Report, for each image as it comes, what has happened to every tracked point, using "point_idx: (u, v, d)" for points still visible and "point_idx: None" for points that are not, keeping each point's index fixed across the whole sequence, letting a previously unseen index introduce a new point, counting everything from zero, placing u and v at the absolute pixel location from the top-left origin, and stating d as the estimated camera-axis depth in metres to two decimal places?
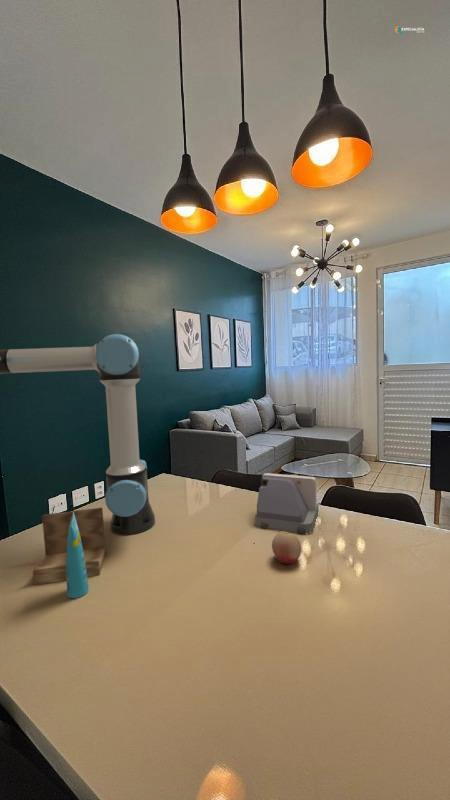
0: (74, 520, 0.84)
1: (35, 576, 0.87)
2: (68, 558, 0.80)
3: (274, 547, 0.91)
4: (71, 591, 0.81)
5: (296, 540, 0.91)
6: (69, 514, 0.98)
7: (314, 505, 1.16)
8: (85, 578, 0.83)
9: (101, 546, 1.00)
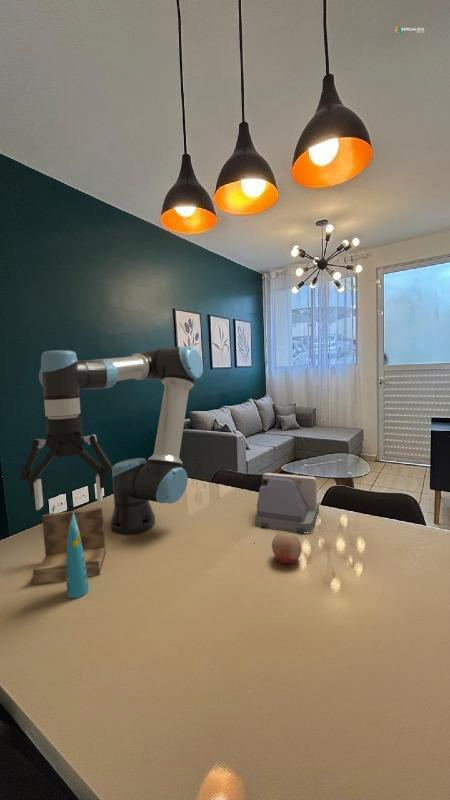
0: (74, 520, 0.84)
1: (35, 576, 0.87)
2: (68, 558, 0.80)
3: (274, 547, 0.91)
4: (71, 591, 0.81)
5: (296, 540, 0.91)
6: (69, 514, 0.98)
7: (314, 505, 1.17)
8: (85, 578, 0.83)
9: (101, 546, 1.00)
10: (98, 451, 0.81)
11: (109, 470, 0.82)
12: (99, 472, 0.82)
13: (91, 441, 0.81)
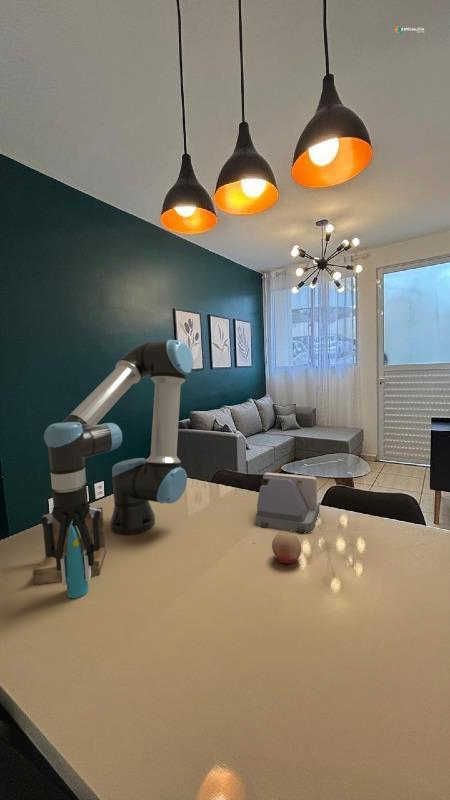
0: None
1: (35, 576, 0.87)
2: (68, 558, 0.80)
3: (274, 547, 0.91)
4: (71, 591, 0.81)
5: (296, 540, 0.91)
6: None
7: (315, 505, 1.17)
8: (85, 578, 0.83)
9: (101, 546, 1.00)
10: (96, 527, 0.82)
11: (97, 549, 0.83)
12: (88, 550, 0.82)
13: (95, 516, 0.82)
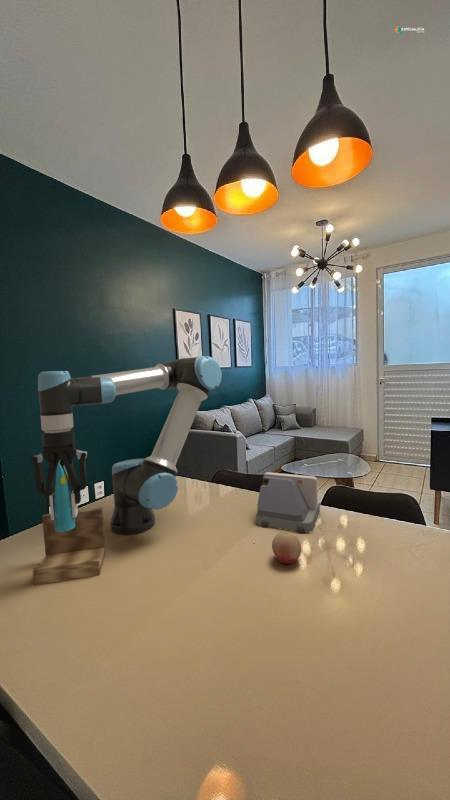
0: None
1: (35, 576, 0.87)
2: (56, 494, 0.88)
3: (274, 547, 0.91)
4: (58, 525, 0.88)
5: (296, 540, 0.91)
6: None
7: (315, 504, 1.17)
8: None
9: (101, 546, 1.00)
10: (82, 468, 0.90)
11: (83, 488, 0.90)
12: (74, 489, 0.90)
13: (81, 457, 0.90)
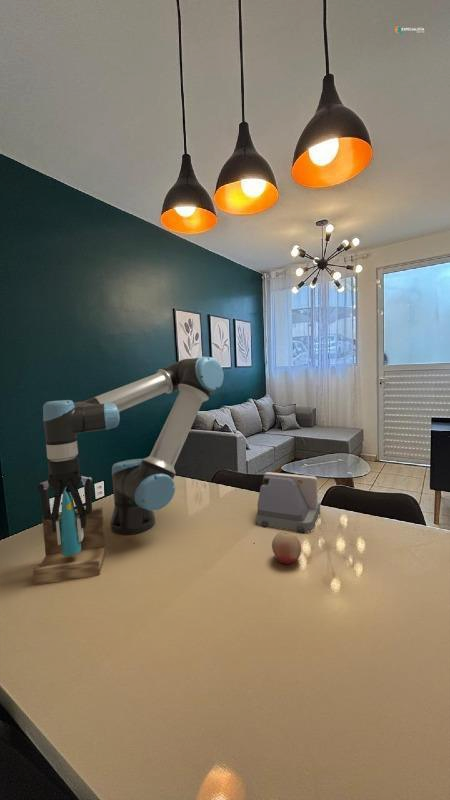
0: None
1: (35, 576, 0.87)
2: (62, 520, 0.91)
3: (274, 547, 0.91)
4: (65, 550, 0.91)
5: (296, 540, 0.91)
6: None
7: (315, 504, 1.17)
8: (78, 539, 0.93)
9: (101, 546, 1.00)
10: (87, 494, 0.93)
11: (88, 513, 0.93)
12: (80, 514, 0.93)
13: (86, 483, 0.92)
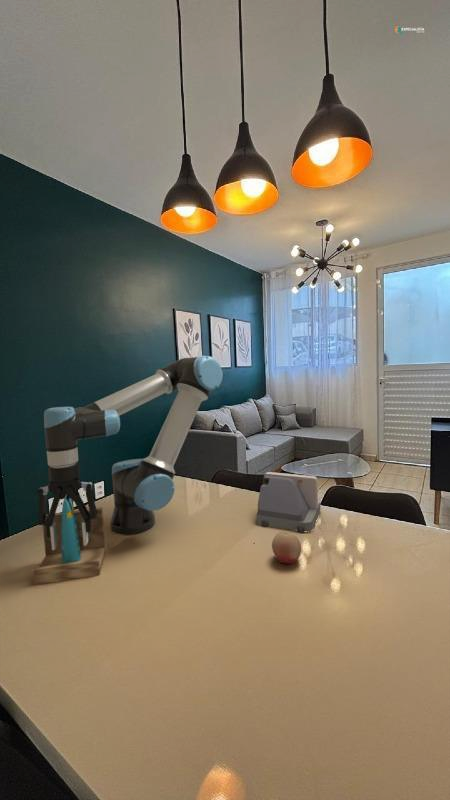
0: None
1: (35, 576, 0.87)
2: (63, 528, 0.91)
3: (274, 547, 0.91)
4: (65, 557, 0.92)
5: (296, 540, 0.91)
6: None
7: (315, 504, 1.17)
8: (78, 546, 0.94)
9: (101, 546, 1.00)
10: (90, 498, 0.93)
11: (93, 517, 0.93)
12: (85, 518, 0.93)
13: (87, 488, 0.93)
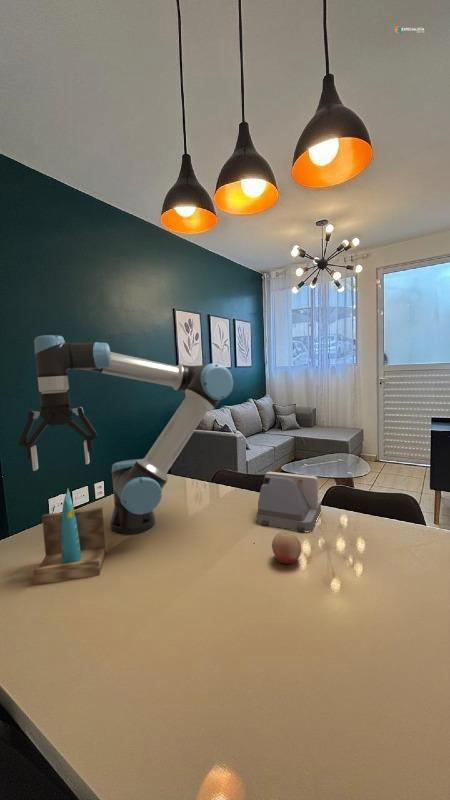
0: (68, 495, 0.95)
1: (35, 576, 0.87)
2: (63, 528, 0.91)
3: (274, 547, 0.91)
4: (65, 557, 0.92)
5: (296, 540, 0.91)
6: None
7: (315, 504, 1.17)
8: (78, 546, 0.94)
9: (101, 546, 1.00)
10: (85, 420, 0.97)
11: (95, 436, 0.98)
12: (86, 438, 0.97)
13: (79, 412, 0.96)
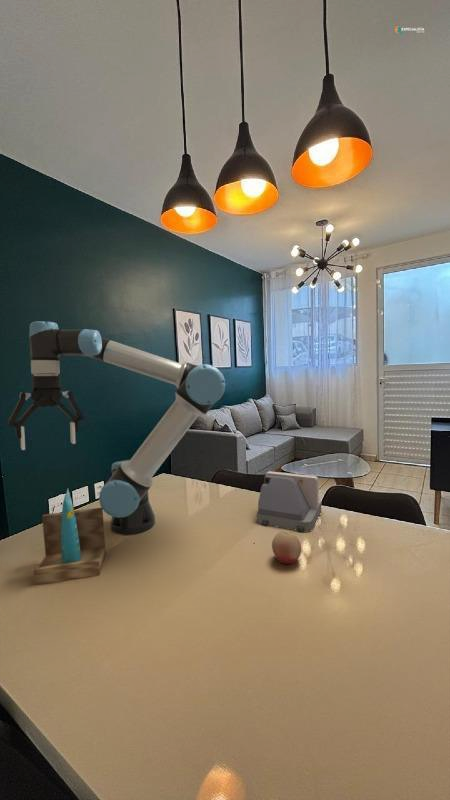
0: (68, 496, 0.95)
1: (35, 576, 0.87)
2: (63, 528, 0.91)
3: (274, 547, 0.91)
4: (65, 557, 0.92)
5: (296, 540, 0.91)
6: None
7: (316, 504, 1.17)
8: (78, 546, 0.94)
9: (101, 546, 1.00)
10: (74, 403, 1.05)
11: (82, 418, 1.07)
12: (75, 419, 1.05)
13: (69, 395, 1.04)
